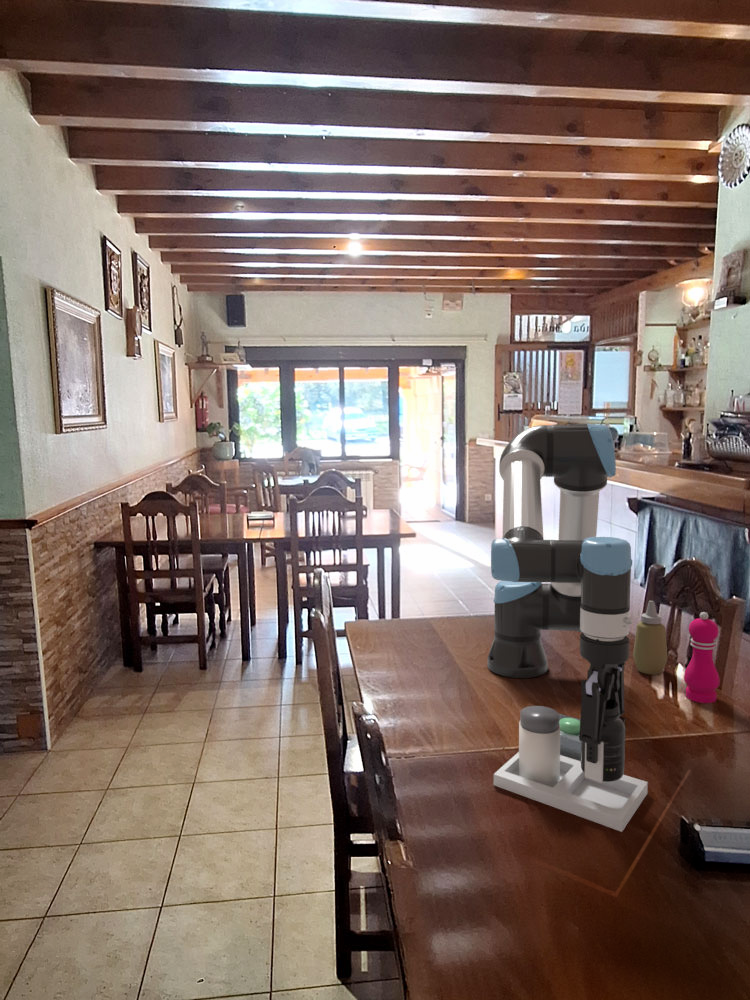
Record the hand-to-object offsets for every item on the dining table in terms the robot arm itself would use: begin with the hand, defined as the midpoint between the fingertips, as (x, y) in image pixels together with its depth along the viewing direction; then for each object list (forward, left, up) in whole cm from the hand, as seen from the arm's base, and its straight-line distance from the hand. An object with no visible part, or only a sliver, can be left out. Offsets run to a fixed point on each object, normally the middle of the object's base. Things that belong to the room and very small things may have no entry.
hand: (601, 768), depth 108 cm
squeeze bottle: (-11, +64, -6) cm, 65 cm away
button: (-12, +15, -4) cm, 19 cm away
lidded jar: (-11, 0, -6) cm, 12 cm away
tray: (-6, 0, -6) cm, 8 cm away
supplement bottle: (0, 0, -1) cm, 1 cm away
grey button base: (-12, +15, -6) cm, 20 cm away
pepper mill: (+3, +54, -6) cm, 55 cm away
